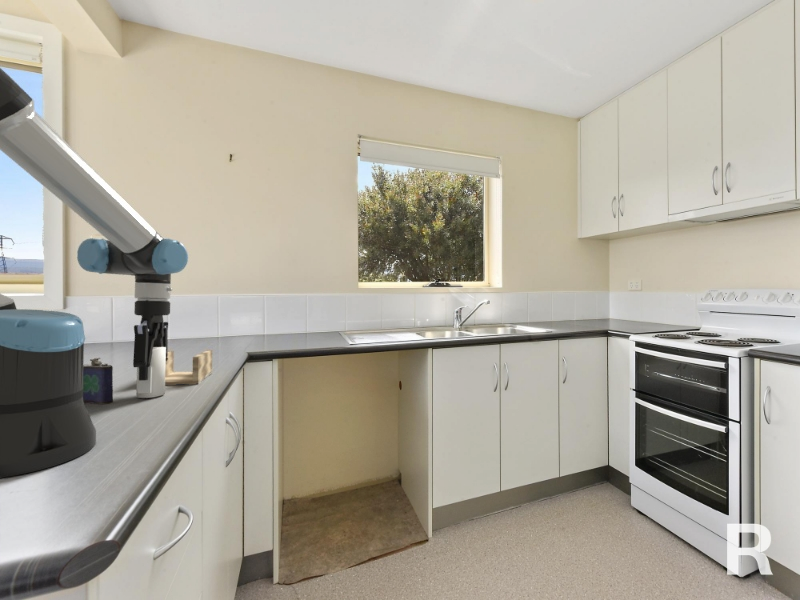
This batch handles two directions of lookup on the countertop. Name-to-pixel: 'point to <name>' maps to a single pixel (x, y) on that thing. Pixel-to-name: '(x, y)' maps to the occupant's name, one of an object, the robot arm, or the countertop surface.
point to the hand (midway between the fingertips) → (151, 389)
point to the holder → (200, 371)
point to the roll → (156, 373)
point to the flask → (97, 382)
